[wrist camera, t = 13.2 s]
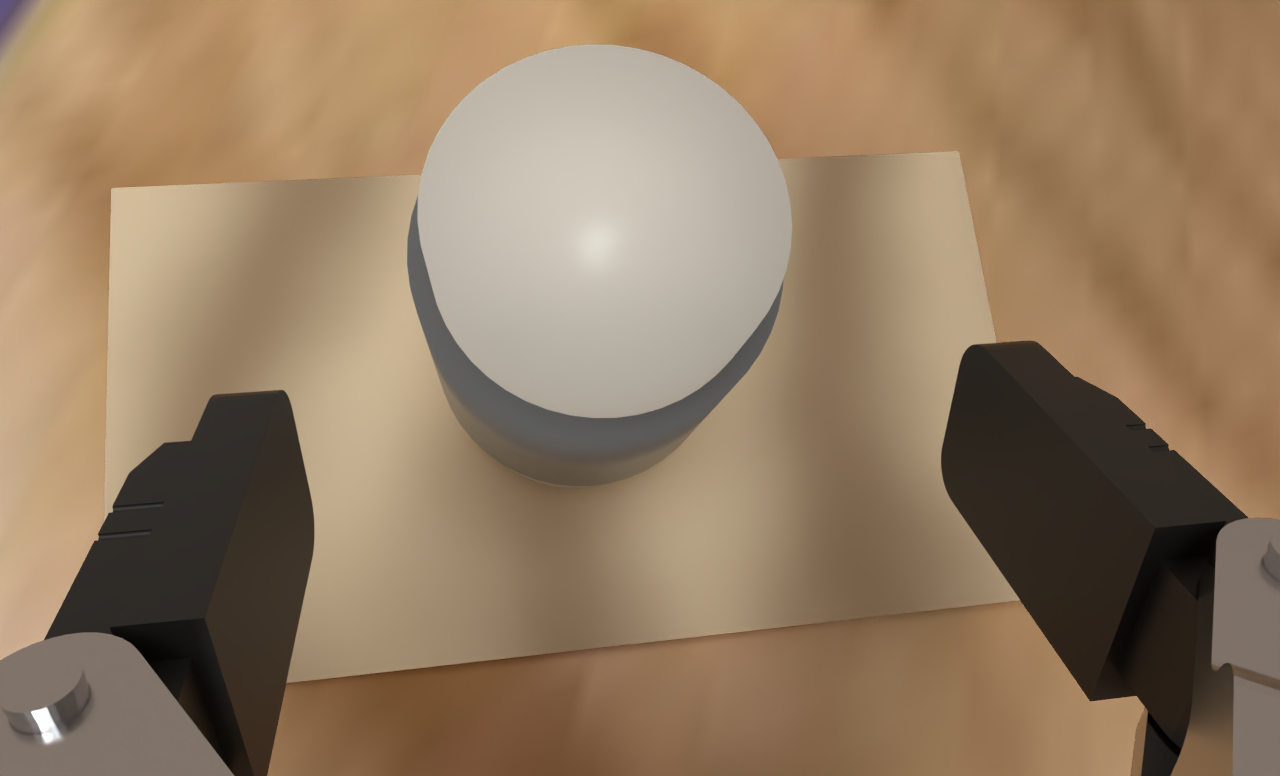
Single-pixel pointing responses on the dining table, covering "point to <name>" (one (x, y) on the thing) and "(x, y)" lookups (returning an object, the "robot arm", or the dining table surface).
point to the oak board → (556, 516)
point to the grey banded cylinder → (595, 259)
